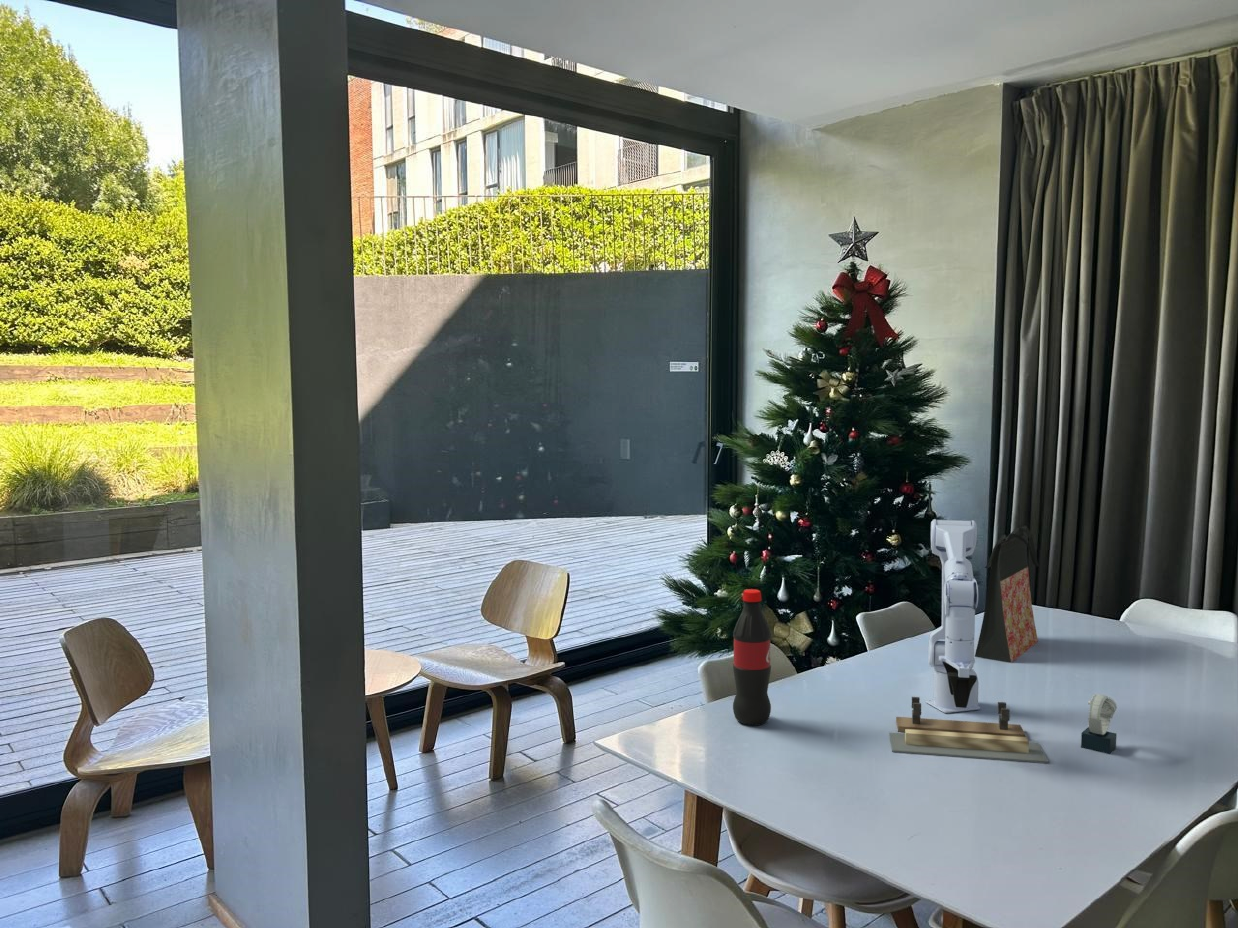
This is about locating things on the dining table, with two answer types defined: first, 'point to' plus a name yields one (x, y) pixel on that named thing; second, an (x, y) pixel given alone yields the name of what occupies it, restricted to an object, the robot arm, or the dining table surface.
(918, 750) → the mat
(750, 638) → the cola bottle
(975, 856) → the dining table surface
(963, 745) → the rail
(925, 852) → the dining table surface
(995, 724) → the rack
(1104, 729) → the watch
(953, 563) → the robot arm
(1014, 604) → the gift bag
